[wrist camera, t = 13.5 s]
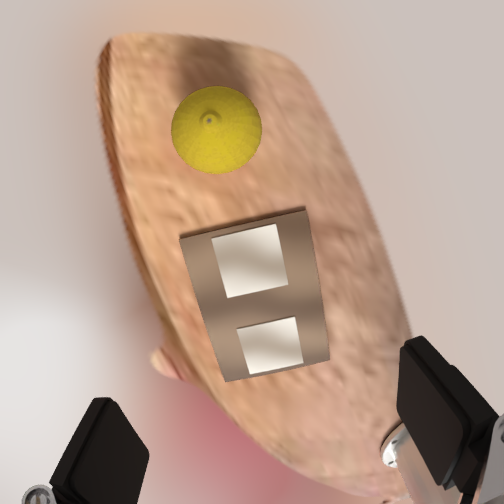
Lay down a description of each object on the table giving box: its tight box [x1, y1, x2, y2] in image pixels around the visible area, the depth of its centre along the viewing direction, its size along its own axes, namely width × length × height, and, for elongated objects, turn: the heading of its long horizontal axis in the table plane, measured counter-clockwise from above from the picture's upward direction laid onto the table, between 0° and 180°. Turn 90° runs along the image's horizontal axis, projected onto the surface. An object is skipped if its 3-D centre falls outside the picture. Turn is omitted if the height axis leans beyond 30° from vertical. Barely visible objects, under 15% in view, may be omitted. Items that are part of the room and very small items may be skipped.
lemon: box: [171, 86, 262, 174], centre depth 18 cm, size 6×6×8 cm
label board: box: [179, 210, 330, 382], centre depth 25 cm, size 14×10×1 cm
